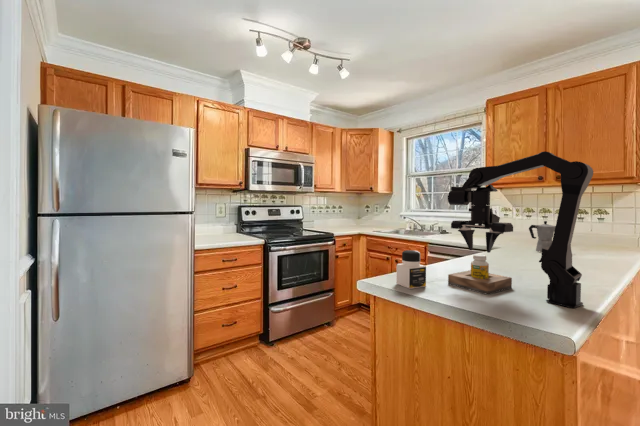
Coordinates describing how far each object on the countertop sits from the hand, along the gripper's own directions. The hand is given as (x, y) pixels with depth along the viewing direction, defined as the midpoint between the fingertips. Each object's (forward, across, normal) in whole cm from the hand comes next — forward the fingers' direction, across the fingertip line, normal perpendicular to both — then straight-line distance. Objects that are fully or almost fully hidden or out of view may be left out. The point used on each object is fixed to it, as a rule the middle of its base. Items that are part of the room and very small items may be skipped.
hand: (479, 251), depth 103 cm
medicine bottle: (+12, +13, +19) cm, 26 cm away
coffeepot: (+12, +25, -108) cm, 112 cm away
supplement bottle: (+11, 0, 0) cm, 11 cm away
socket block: (+12, 0, 0) cm, 12 cm away
